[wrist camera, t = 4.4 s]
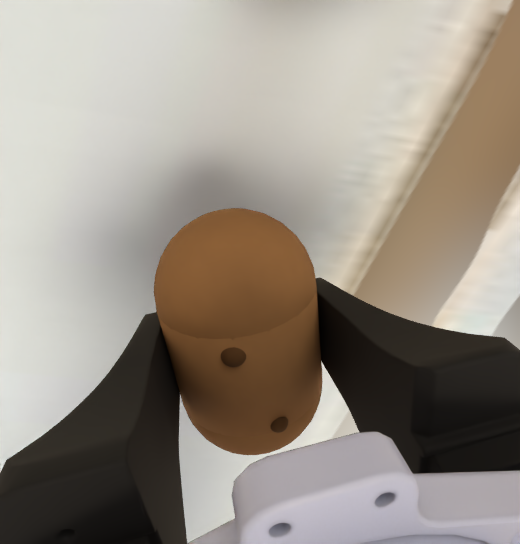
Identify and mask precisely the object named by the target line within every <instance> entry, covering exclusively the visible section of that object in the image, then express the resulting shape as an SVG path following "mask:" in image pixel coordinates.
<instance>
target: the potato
mask: <svg viewBox="0 0 520 544" xmlns="http://www.w3.org/2000/svg"><path fill="white" fill-rule="evenodd" d="M154 296H155V302H156V310H157V314H158V318H159V321H160V325H161V328H162V332H163V335H164V339H165V342H166V346H167V349H168V353H169V356H170V360H171V363H172V367H173V370H174V374H175V377H176V381H177V384H178V388H179V391H180V395H181V398H182V402H183V405H184V407H185V409H186V412H187V414H188V416H189V418H190V420H191V422H192V424H193V425H194V426H195V427H196V428H197V430H198V431H199V432H200V433H201V434H202V435H203V436H204V437H205V438H206V439H207V440H208V441H210V442H211V443H213V444H215V445H216V446H218V447H220V448H222V449H224V450H226V451H229V452H232V453H236V454H242V455H259V454H264V453H269V452H272V451H275V450H278V449H280V448H282V447H284V446H286V445H288V444H289V443H291V442H292V441H293V440H295V439H296V438H297V437H298V436H299V435H300V434H301V433H302V432H303V431H304V429H305V428H306V427H307V426H308V424H309V423H310V422H311V420H312V418H313V416H314V414H315V412H316V410H317V407H318V404H319V401H320V397H321V391H322V366H321V349H320V333H319V317H318V301H317V285H316V278H315V273H314V267H313V265H312V262H311V260H310V258H309V255H308V253H307V251H306V249H305V247H304V246H303V244H302V243H301V241H300V240H299V239H298V237H297V236H296V235H295V234H294V233H293V232H292V231H291V230H289V229H288V228H287V227H286V226H285V225H284V224H283V223H281V222H280V221H278V220H276V219H274V218H272V217H270V216H268V215H266V214H264V213H261V212H257V211H253V210H248V209H241V208H231V209H222V210H217V211H213V212H210V213H207V214H204V215H202V216H200V217H198V218H196V219H195V220H193V221H192V222H190V223H188V224H187V225H185V226H184V227H183V228H182V229H181V230H180V231H179V232H178V233H177V234H176V235H175V236H174V237H173V238H172V239H171V241H170V242H169V244H168V245H167V247H166V249H165V250H164V252H163V254H162V256H161V257H160V261H159V264H158V267H157V270H156V275H155V282H154Z"/></svg>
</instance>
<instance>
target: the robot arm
mask: <svg viewBox="0 0 520 544" xmlns="http://www.w3.org/2000/svg"><path fill="white" fill-rule="evenodd" d="M316 285H317V301H318V317H319V333H320V349H321V361H322V363H323V364H324V366H325V368H326V370H327V371H328V373H329V375H330V376H331V378H332V380H333V381H334V383H335V385H336V387H337V388H338V390H339V392H340V393H341V395H342V397H343V398H344V400H345V402H346V404H347V406H348V408H349V410H350V412H351V414H352V416H353V419H354V421H355V423H356V425H357V428H358V430H359V432H360V433H354V434H350V435H346V436H343V437H339V438H335V439H331V440H327V441H323V442H320V443H316V444H312V445H308V446H305V447H301V448H297V449H293V450H289V451H286V452H282V453H278V454H274V455H270V456H267V457H265V458H263V459H261V460H258V461H256V462H254V463H252V464H250V465H249V466H248V467H247V468H246V469H245V470H244V471H243V472H242V473H241V474H240V475H239V476H238V477H237V478H236V479H235V481H234V486H233V492H232V499H233V506H234V512H235V519H233V520H231V521H229V522H227V523H225V524H223V525H221V526H219V527H218V528H216V529H214V530H212V531H210V532H208V533H206V534H204V535H202V536H200V537H199V538H197V539H195V540H193V541H191V542H189V543H187V538H186V528H185V518H184V508H183V498H182V487H181V475H180V463H179V405H180V391H179V388H178V384H177V381H176V377H175V374H174V370H173V367H172V363H171V360H170V356H169V353H168V349H167V346H166V342H165V339H164V335H163V332H162V328H161V325H160V321H159V318H158V314H157V312H156V313H151V314H146V315H145V316H144V318H143V319H142V321H141V323H140V325H139V327H138V328H137V330H136V332H135V334H134V335H133V337H132V339H131V340H130V342H129V344H128V345H127V347H126V348H125V350H124V352H123V353H122V355H121V356H120V358H119V359H118V360H117V362H116V363H115V365H114V366H113V367H112V369H111V370H110V372H109V373H108V374H107V375H106V377H105V378H104V379H103V380H102V381H101V383H100V384H99V385H98V386H97V387H96V388H95V389H94V390H93V391H92V393H91V394H90V395H89V396H88V397H86V398H85V399H84V400H83V401H82V402H81V403H80V404H79V405H78V406H77V407H76V408H75V409H74V410H73V411H72V412H71V413H70V414H69V415H67V416H66V417H65V418H64V419H63V420H61V421H60V422H59V423H58V424H57V425H55V426H54V427H53V428H52V429H50V430H49V431H48V432H47V433H45V434H44V435H43V436H41V437H40V438H39V439H37V440H36V441H34V442H33V443H31V444H30V445H28V446H27V447H25V448H24V449H23V450H21V451H20V452H18V453H17V454H15V455H14V456H12V457H11V458H9V459H7V460H6V462H5V464H4V467H3V469H2V471H1V473H0V544H520V350H519V349H518V348H517V347H515V346H514V345H513V344H512V343H510V342H509V341H508V340H507V339H505V338H502V337H493V336H483V335H474V334H467V333H461V332H455V331H450V330H445V329H440V328H436V327H432V326H428V325H424V324H420V323H417V322H414V321H410V320H407V319H404V318H401V317H399V316H395V315H393V314H390V313H388V312H385V311H383V310H381V309H378V308H376V307H374V306H372V305H370V304H368V303H366V302H364V301H362V300H360V299H358V298H356V297H354V296H352V295H350V294H349V293H347V292H345V291H343V290H341V289H340V288H338V287H336V286H334V285H333V284H331V283H329V282H327V281H326V280H324V279H322V278H316Z"/></svg>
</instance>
